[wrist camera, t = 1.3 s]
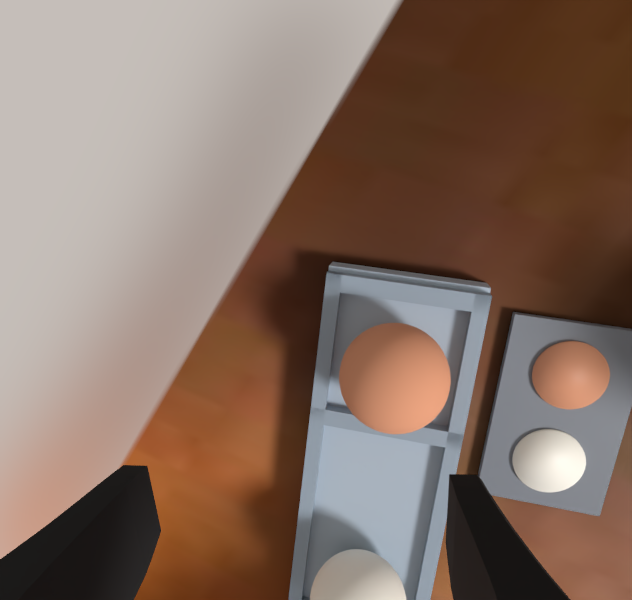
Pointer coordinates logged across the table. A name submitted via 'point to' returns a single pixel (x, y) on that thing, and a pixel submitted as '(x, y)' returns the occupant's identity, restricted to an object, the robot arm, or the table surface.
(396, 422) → the rust ball
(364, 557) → the cream ball
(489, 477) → the card
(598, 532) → the table surface
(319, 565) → the board
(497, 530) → the robot arm
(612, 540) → the table surface
